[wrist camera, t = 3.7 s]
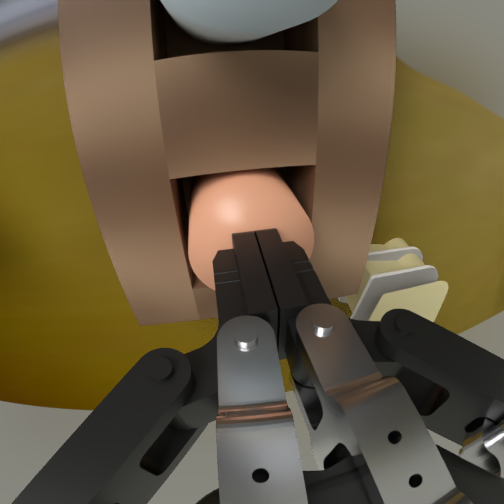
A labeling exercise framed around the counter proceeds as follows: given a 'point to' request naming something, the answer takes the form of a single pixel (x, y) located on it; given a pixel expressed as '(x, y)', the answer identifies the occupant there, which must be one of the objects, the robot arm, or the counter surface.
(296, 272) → the robot arm
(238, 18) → the blue-grey egg
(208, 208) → the brown egg
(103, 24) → the button panel
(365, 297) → the stacked layers on plate
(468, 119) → the counter surface
